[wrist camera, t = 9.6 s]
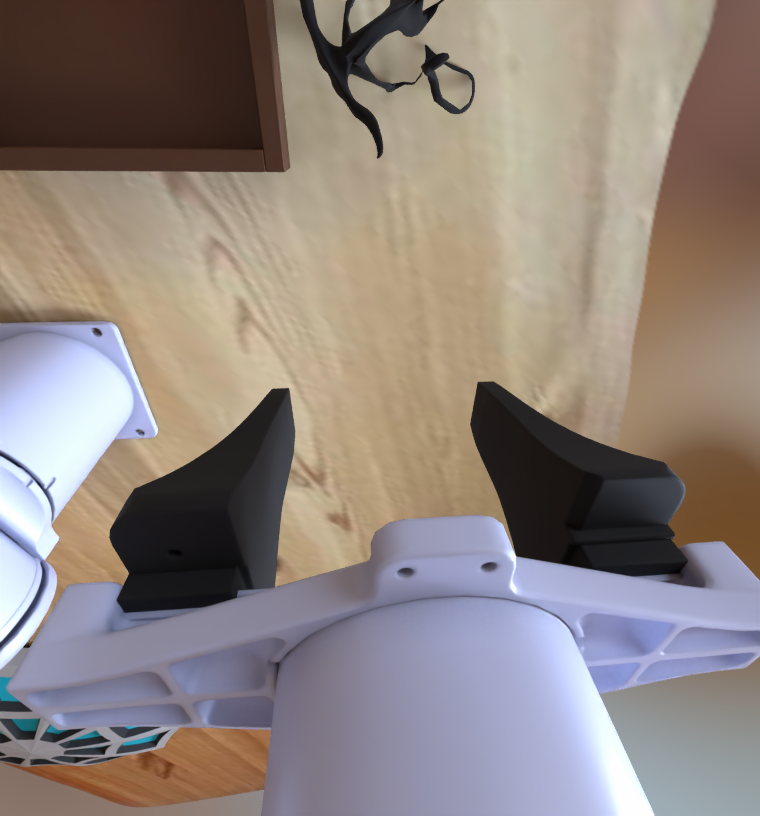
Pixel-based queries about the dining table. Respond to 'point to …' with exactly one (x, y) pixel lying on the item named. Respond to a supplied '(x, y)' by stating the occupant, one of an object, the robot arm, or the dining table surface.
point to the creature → (357, 45)
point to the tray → (141, 86)
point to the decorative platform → (64, 734)
